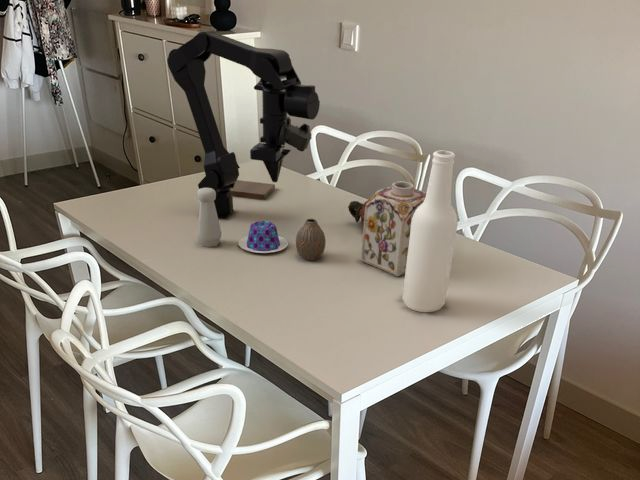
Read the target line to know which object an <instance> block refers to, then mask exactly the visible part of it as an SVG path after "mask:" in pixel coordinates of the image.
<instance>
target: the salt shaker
mask: <svg viewBox="0 0 640 480" xmlns="http://www.w3.org/2000/svg"><path fill="white" fill-rule="evenodd" d="M196 192H197V193H196V197H197V200H198V201H199V208H198V209H199V210H198V222H197V233H196V236H197V239H198V240H199V242H200V243H201V245H202V247H207V248H211V247H217V246H218V245H219V242H220V240H221V239H222V228H221V225H220V220H219V218H218V216H217V212H216V208H215V204H214V200H215V199H216V192H215V190H214V189H212V188H201V189H199V188H198V190H197V191H196Z"/></svg>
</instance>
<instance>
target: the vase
mask: <svg viewBox="0 0 640 480" xmlns="http://www.w3.org/2000/svg"><path fill="white" fill-rule="evenodd" d="M295 249H296V252H297V254H298V255H299V256H300V258H302V259H303V260H306V261H315V260H318V259H319V258H320V257H321V256H323V254H324V252H325V249H326V236H325V232H324V231H323V229H322V228H321V226H320V225H319V223H318V221H317V219H316V218H306V220H305V221H304V223H303V225H302V226H301V227H300V228H299V229H298V231H297V234H296V237H295Z"/></svg>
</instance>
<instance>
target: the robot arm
mask: <svg viewBox="0 0 640 480" xmlns="http://www.w3.org/2000/svg"><path fill="white" fill-rule="evenodd" d="M212 55H214V56H217V57H219V58H222V59H225V60H227V61H231V62H232V63H236V64H238V65H241V66H243V67H246V68H247V69H249V70H250V71H251V72H252V74H253V75H255V76H256V77H258V78H259V81H258V82H257V83H256V84H255V85H254V86H253V90H254V91H262V93H261V95H262V97H261V98H262V99H261V100H262V103H261V104H262V117H260V118H259V124H262V136H260V137H259V141H260V142H258V143H257V144H255V145H254V146H253V147H252V148H251V149H250V150H249V153H250V154H249V157H250V160H253V161H262V162H263V164H264V166H265V169H266V170H267V173H268V175H269V177H270V180H271V182H272V183H277V182H278V181H279V177H280V174H281V170H282V165H283V162H284V158H285V157H287V155H289V153H291V151H292V150H291V149H287V148H286V146H285V145H286V144H287V145H289V146H291V147H293V148H295V149H296V150H297V151H299V152H305V150H307V149H308V147H309V145H310V141H311V140H312V132H311V128H310V125H309V124H307V123H303V124H301V126H298V125H296V126H295V125H293V124H292V119H291V117H295V118H300V119H305V120H306V119H307V120H312V121H313V120H315V119H316V118H317V116H318V114H319V110H320V106H321V105H320V103H321V101H320V98H319V95H318V93H317V91H316V85H313V84H308V85H306V84H302V81H301V79H300V78H299V76H298V74H297V72H296V70H295V68H294V66H293V63H292V59H291V56H290V54H289V53H288V52H287V51H285V50H284V49H276V48H265V47H264V48H263V47H256V46H253V45H250V44H247V43H245V42H242V41H239V40H237V39H234V38H232V37H229V36H225V35H223V34H221V33H218V32H216V31H215V30H213V29H209V30H202V31H201V30H200V31H199V32H198V33H197V34H196V35H195V36H194V37H192V38H191V39H190V40H188V41H186V42H185V43H183V44H181V45H180V46H179V47H177V48H173V49H171V50H170V51H169V53H168V55H167V58H166V63H167V67H168V69H169V71H170V73H171V75H172V78H173V80H174V81H175V83H176V84H177V85H178V86H179V87H180V89H181V90H183V92H184V94H185V96H186V100H187V103H188V106H189V108H190V112H191V114H192V115H191V116H192V118H193V121H194V123H195V127H196V130H197V133H198V136H199V138H200V141H201V145H202V148H203V150H204V160H203V170H204V174H205V176H203V178H202V179H201V180H200V181H199V183H198V184H197V187H198V190H199V189H201V188H212V189H214V190H215V192H216V199H215V200H214V204H215V208H216V212H217V216H218V219H227V218H229V216H231V215H232V214H233V213H234V200H233V197H234V196H231V191H230V190H229V189H231V188H234V185H235V182H236V181H237V180H238V179H239V177H240V171H239V169H240V168H241V167H240V165H239V163H238V161H237V157H236V154H235V151H232V152H229V151H228V150H227V149H226V148H225V146H224V143H223V140H222V137H221V133H220V130H219V128H218V125H217V121H216V118H215V115H214V111H213V110H212V106H211V103H210V99H209V97H208V93H207V90H206V86H205V82H206V81H205V80H206V72H207V71H206V66H205V63H206V62H207V61H208V60H209V59H210V58H211V56H212Z"/></svg>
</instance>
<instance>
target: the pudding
mask: <svg viewBox="0 0 640 480" xmlns="http://www.w3.org/2000/svg"><path fill="white" fill-rule="evenodd" d="M237 245H238V246H239V247H240V248H241V249H243V250H245V251H247V252H252V253H257V254H258V253H260V254H267V253H276V252H279V251H282V250H284V249H286V248H287V247H288V245H289V241H288V240H287V239H286V238H285V237H283V236H280V235H279V234H278V230H277V226H276V225H275V224H274V223H273V222H272V221H267V220H258V221H255V222H253V223H251V224H250V226H249V230H248V235H245V236H243V237H241V238H240V239H239V240H238V241H237Z"/></svg>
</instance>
